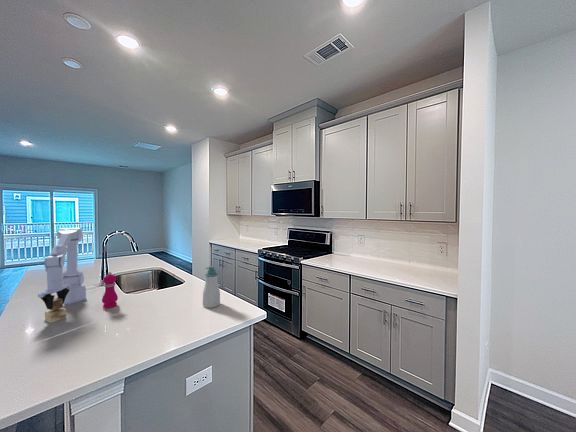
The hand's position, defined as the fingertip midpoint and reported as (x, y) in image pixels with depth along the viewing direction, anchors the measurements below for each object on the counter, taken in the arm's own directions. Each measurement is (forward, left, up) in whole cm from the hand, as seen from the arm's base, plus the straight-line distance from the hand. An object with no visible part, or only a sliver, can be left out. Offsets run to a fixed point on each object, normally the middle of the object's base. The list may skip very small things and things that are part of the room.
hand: (55, 306), depth 123 cm
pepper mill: (-21, +8, -7) cm, 23 cm away
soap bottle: (-50, +56, -7) cm, 75 cm away
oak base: (0, 0, -6) cm, 6 cm away
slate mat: (-3, -3, -6) cm, 8 cm away
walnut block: (0, 0, -1) cm, 1 cm away
